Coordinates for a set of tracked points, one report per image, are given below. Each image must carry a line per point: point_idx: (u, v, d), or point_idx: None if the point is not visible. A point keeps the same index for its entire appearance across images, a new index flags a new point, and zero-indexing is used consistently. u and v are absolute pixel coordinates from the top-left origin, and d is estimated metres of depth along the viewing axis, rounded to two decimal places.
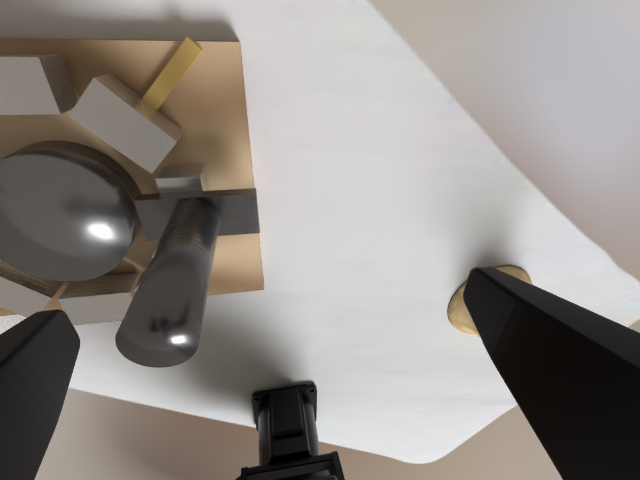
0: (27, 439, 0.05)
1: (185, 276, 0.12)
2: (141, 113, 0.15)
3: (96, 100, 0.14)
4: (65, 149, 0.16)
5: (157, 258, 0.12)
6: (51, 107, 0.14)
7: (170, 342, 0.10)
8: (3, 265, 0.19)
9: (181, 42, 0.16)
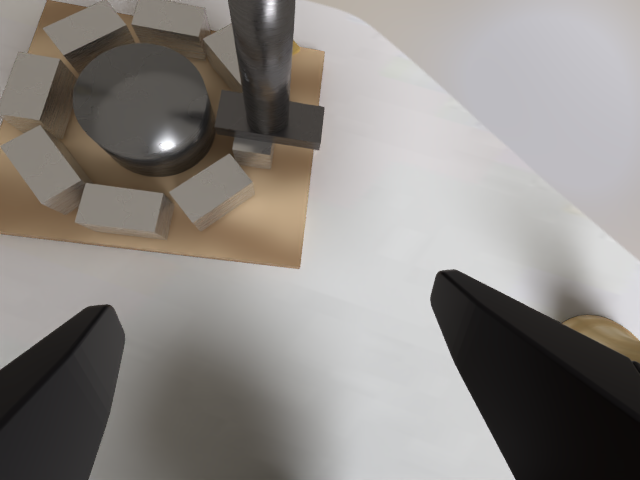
0: (86, 430, 0.05)
1: None
2: None
3: (226, 34, 0.20)
4: None
5: None
6: (195, 32, 0.20)
7: None
8: (60, 146, 0.18)
9: None
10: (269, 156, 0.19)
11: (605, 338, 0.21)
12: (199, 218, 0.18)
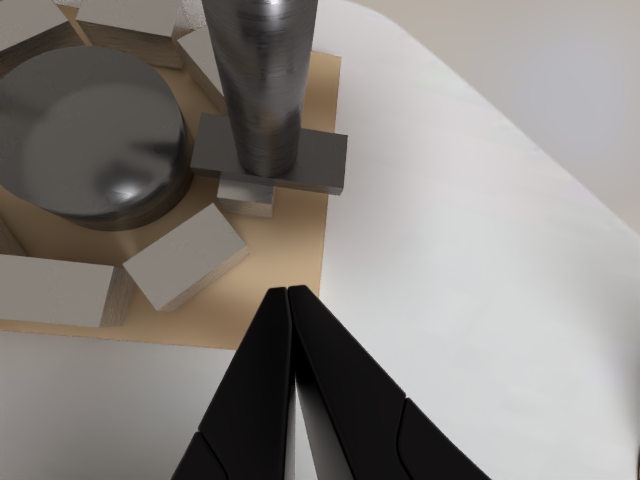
0: (294, 398, 0.06)
1: None
2: None
3: None
4: None
5: None
6: (166, 30, 0.15)
7: None
8: None
9: None
10: (270, 205, 0.14)
11: None
12: (167, 302, 0.12)
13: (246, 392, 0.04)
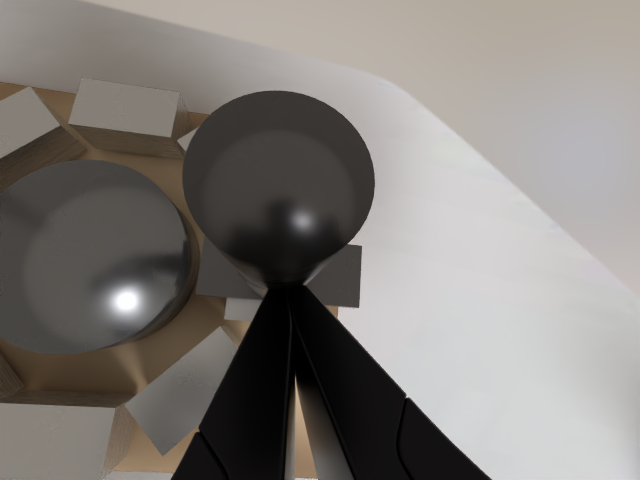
0: (293, 398, 0.06)
1: None
2: None
3: None
4: None
5: None
6: (165, 130, 0.14)
7: (310, 181, 0.04)
8: None
9: None
10: None
11: None
12: (174, 445, 0.11)
13: (246, 392, 0.04)
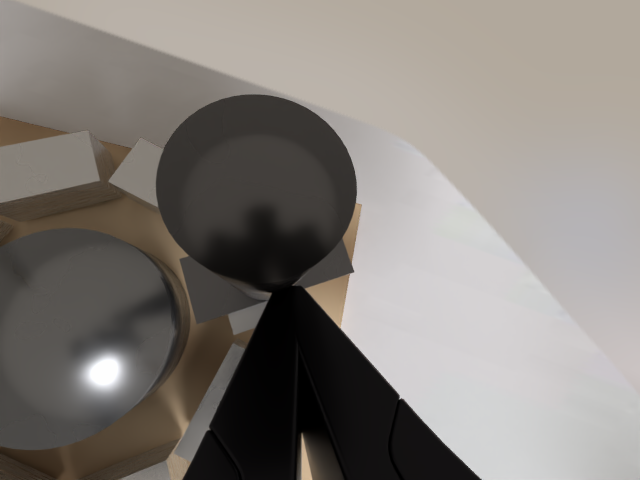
0: None
1: None
2: None
3: (141, 158, 0.13)
4: (142, 250, 0.13)
5: None
6: (91, 175, 0.13)
7: (290, 178, 0.04)
8: None
9: None
10: None
11: None
12: None
13: (256, 390, 0.04)
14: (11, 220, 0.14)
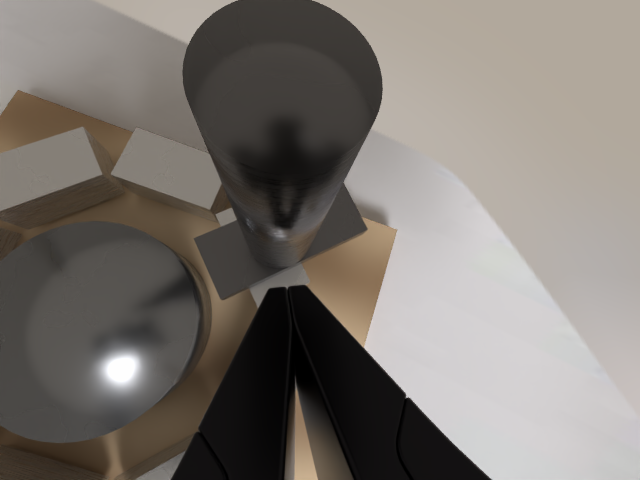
0: (294, 398, 0.06)
1: None
2: (187, 146, 0.13)
3: (140, 147, 0.13)
4: (174, 251, 0.13)
5: None
6: (93, 170, 0.12)
7: (315, 69, 0.04)
8: (4, 468, 0.11)
9: None
10: (308, 282, 0.13)
11: None
12: None
13: (246, 392, 0.04)
14: None
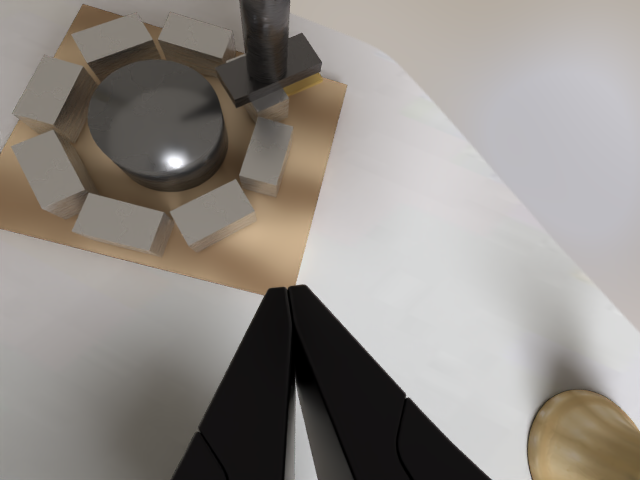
0: (294, 398, 0.06)
1: None
2: (203, 22, 0.21)
3: (174, 23, 0.20)
4: None
5: None
6: (146, 37, 0.20)
7: None
8: None
9: None
10: (288, 100, 0.20)
11: (599, 420, 0.20)
12: (278, 179, 0.19)
13: (246, 392, 0.04)
14: None
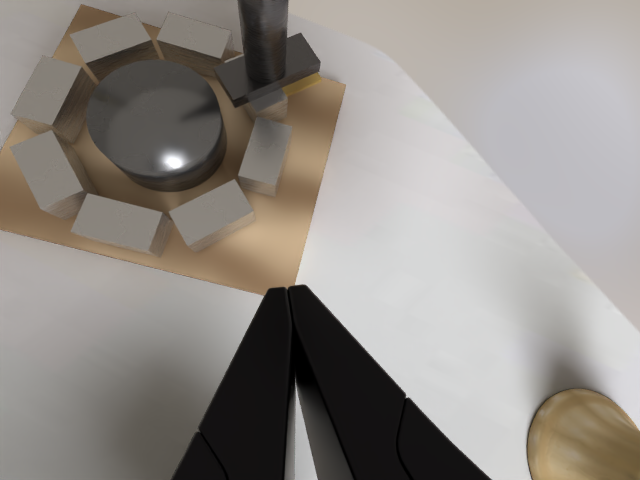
0: (293, 398, 0.06)
1: None
2: (202, 22, 0.21)
3: (172, 23, 0.20)
4: None
5: None
6: (145, 37, 0.20)
7: None
8: None
9: None
10: (286, 100, 0.20)
11: (599, 419, 0.20)
12: (277, 179, 0.19)
13: (246, 392, 0.04)
14: None
